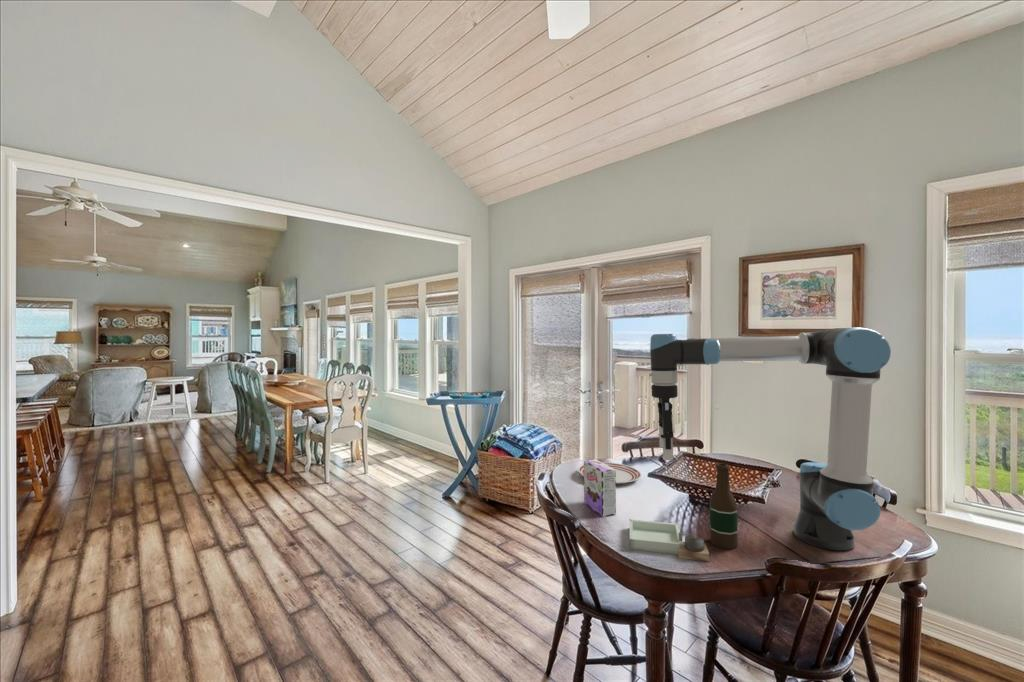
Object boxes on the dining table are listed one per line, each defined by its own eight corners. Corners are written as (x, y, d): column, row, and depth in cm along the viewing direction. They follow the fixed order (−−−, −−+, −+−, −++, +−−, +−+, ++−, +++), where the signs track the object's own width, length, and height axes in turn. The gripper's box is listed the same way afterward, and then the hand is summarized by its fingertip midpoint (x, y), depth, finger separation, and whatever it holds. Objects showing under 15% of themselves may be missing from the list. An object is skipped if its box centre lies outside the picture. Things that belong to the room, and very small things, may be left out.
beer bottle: (741, 542, 130) (740, 464, 130) (733, 552, 124) (733, 470, 124) (714, 535, 135) (713, 459, 135) (705, 544, 130) (705, 465, 129)
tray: (678, 533, 137) (678, 523, 137) (683, 554, 123) (683, 544, 123) (629, 528, 141) (629, 519, 141) (629, 549, 127) (629, 539, 127)
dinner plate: (641, 471, 200) (641, 464, 200) (640, 491, 174) (640, 483, 174) (583, 466, 209) (583, 459, 209) (573, 485, 183) (573, 477, 183)
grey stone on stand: (705, 550, 126) (705, 532, 126) (709, 561, 120) (709, 542, 120) (676, 547, 128) (676, 529, 128) (678, 557, 122) (678, 538, 122)
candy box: (583, 503, 163) (583, 460, 163) (597, 501, 165) (596, 458, 164) (602, 517, 150) (601, 470, 149) (616, 515, 151) (616, 468, 151)
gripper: (649, 380, 144) (650, 443, 144) (653, 389, 120) (655, 464, 120) (672, 379, 142) (674, 443, 142) (682, 389, 118) (684, 466, 118)
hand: (666, 453), depth 131 cm, fingers open, 13 cm apart
